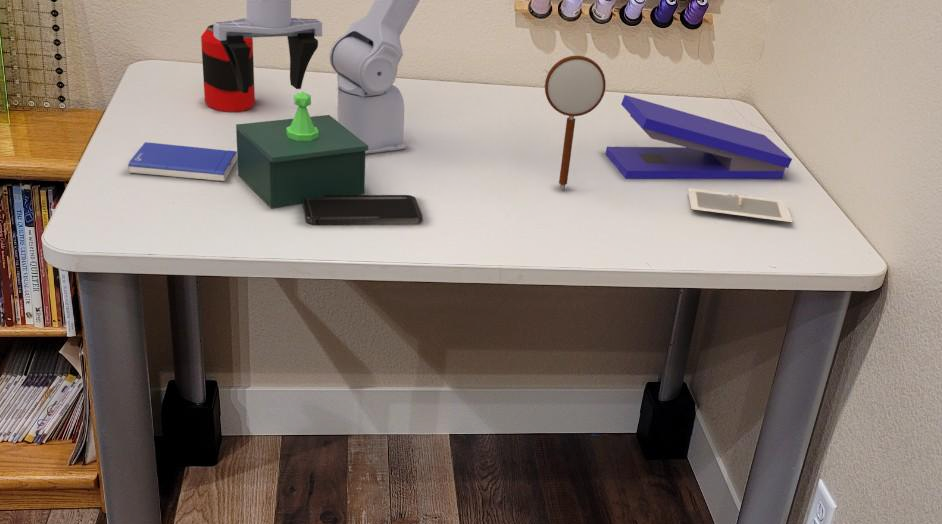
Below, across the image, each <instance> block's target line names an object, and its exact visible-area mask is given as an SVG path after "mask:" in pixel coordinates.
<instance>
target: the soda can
mask: <svg viewBox="0 0 942 524" xmlns="http://www.w3.org/2000/svg"><path fill="white" fill-rule="evenodd" d="M244 41H246V45H247V46H249V47H250V48H251V50H250V55H249V63H248V81H249V89H248V93H242V92H241V91H240V90H239V89H238V87H237V82H236V78H235V74H234V71H233V68H232V65H231V62H230V60H229V58H228V56H227V53H226V51H225V50H224V48H223V46H222V44H221V42H220V41H219V40H218V39H216V38H215V37H214V29H213V24H210V25H208V26H207V27H206V29H205V30H204V32H203V33H202V34H201V36H200V43H201V56H202V57H201V59H202V61H201V63H202V76H203V94H204V103H205V104H206V105H207V106H208V107H209V108H211V109H213V110H215V111H220V112H226V113H227V112H228V113H235V112H237V113H238V112H243V111H244V112H245V111H247V110H250V109H251V108H252V107H253V106H254V105H256V98H255V97H256V93H255V67H254V38H244Z"/></svg>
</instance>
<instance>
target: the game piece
mask: <svg viewBox="0 0 942 524" xmlns="http://www.w3.org/2000/svg"><path fill="white" fill-rule="evenodd" d="M293 102H294V105H296V106H298V107H297V109H296V111H295V114H294V116H293V118H294V119H293V118H292V119H293V121H292V123H291V126H289V127H287V128H286V133H287V136H288V138H291V139H294V140H297V141H311V140H314V139H316V138H318V137H319V132H318V129H317V127H314V126H313V123H312V121H311V118H310V117H311V115H310V113H309V110H308V106H312V96H311V94H308V93H306V92H304V91H300V92H297V93H296V94H293Z"/></svg>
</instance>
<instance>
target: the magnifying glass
mask: <svg viewBox="0 0 942 524" xmlns="http://www.w3.org/2000/svg"><path fill="white" fill-rule="evenodd" d="M606 82H607V81H606V77H605V74H604V71H603V70H602V68H601V66H600V65H599V64H598V63H597V62H595V60H593V59H592V58H590V57H587V56H583V55H569V56H566V57H564V58H561V59H559V60H558V61H557V62H556V63H555V64H554V65H552V67H551V68H550V69H549V71H548V73H547V75H546V78H545V81H544V93H545V97H546V100H547V101H548V103H549V105H550V106H551V107H552V108H553V109H554V110H555V111H556V112H557V113H558V114H559V113H560V114H561V115H564V116H566V117H567V118H566V122H565V123H566V124H565V132H564V139H563V149H562V156H561V162H560V163H561V164H560V172H559V180H558V184H560V185H559V189H560V190H562V191H563V190H565V189H566V185H568V181H569V173H570V164H571V157H572V156H571V155H572V150H573V149H572V148H573V141H574V133H575V125H576V118H575V117H580V116H584V115H587V114H589V113H590V112H592V111H593V110H594V109H596V108H597V107H598V105H600V103H601V101H602V100H603V98H604V97H605V96H604V95H605V92H606V86H607V83H606Z"/></svg>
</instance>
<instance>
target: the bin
mask: <svg viewBox="0 0 942 524" xmlns="http://www.w3.org/2000/svg"><path fill="white" fill-rule="evenodd" d="M235 134H236V151H237V174H238V175H237V176H238V177H239V178H240V179H241V181H243V182H244V183H245V184H246V185H247V186H248V187H249V188H250V189H251V190H252V191H253V192H254V193H255V194H256V195H257V196H258V197H259V198H260V199H261V200H262V201H263V202H264V203H265V204H266V205H267V206H268V207H269V208H270V209H276V208H282V207H283V208H284V207H289V206H295V205H303V199H305V200H306V199H313V198H319V197H324V195H365V187H366V186H365V185H366V154H365V151H360V152H352V153H344V154H336V155H328V156H320V157H312V158H305V159H297V160H289V161H281V162H273V163H272V162H271V161H270V160H269V159H268V158H267V157H266V156H265V155H264V154H263V153H261V152H260V151H259V150H258V149H257V148H256V147H255V146H254V145H253V144H252V143H251V142H250V141H249V140H247V139H246V138H245V137H244V136H243V135H242V134H241V133H240V132H239V131H238V130H237V129H235Z"/></svg>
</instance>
